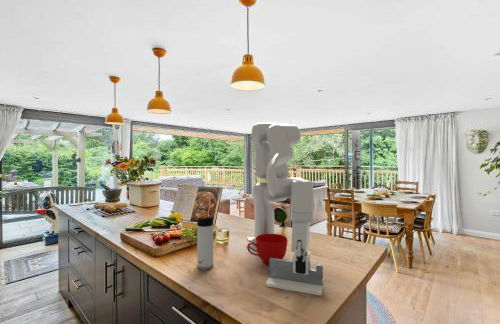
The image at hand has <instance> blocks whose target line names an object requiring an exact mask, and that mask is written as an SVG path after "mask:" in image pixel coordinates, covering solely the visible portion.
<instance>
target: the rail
mask: <svg viewBox="0 0 500 324" xmlns="http://www.w3.org/2000/svg"><path fill="white" fill-rule="evenodd" d="M269 278H276V279H282V280H289V281H295V282H301V283H308V284H314V285H320V286H323V287H324V282H323V278H324V264H319V263H316V269H313V268H310V269H309V275H304V274H297V273H293V260H291V259H284V258H283V259H276V258H270V265H269Z"/></svg>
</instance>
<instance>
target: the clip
mask: <svg viewBox="0 0 500 324" xmlns="http://www.w3.org/2000/svg"><path fill="white" fill-rule="evenodd" d="M301 252H303V251H301ZM301 255H302V256H303V254H301ZM292 261H293V273H296V272H295V261H296V250H295V251H294V252H293V254H292ZM309 269H311V251H308V250H307V252H306V253H305V274H304V275H309ZM297 274H300V273H297Z"/></svg>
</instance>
